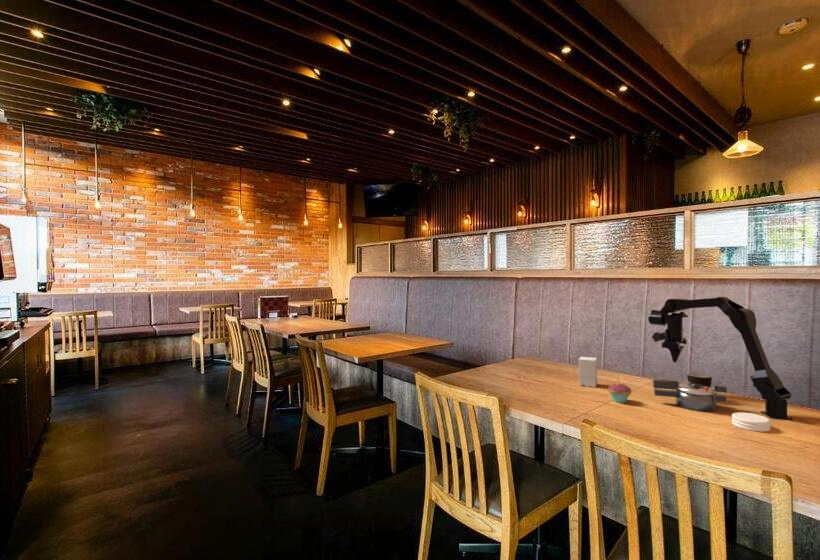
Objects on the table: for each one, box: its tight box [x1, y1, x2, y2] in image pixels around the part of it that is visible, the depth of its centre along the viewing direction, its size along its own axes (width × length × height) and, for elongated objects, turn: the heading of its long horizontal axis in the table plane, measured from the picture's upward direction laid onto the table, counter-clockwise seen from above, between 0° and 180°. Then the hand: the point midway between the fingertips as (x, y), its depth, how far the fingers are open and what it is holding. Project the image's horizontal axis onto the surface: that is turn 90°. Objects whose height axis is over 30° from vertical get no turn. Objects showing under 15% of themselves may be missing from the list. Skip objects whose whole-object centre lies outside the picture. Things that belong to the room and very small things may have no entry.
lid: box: [652, 378, 728, 395], centre depth 159 cm, size 24×14×3 cm, turn 72°
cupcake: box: [608, 373, 632, 404], centre depth 166 cm, size 9×8×12 cm
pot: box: [653, 388, 727, 413], centre depth 159 cm, size 24×13×6 cm, turn 68°
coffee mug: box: [686, 372, 713, 387], centre depth 169 cm, size 12×9×10 cm
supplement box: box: [578, 356, 598, 388], centre depth 191 cm, size 7×7×13 cm
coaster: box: [731, 411, 771, 433], centre depth 137 cm, size 10×10×4 cm
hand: (674, 362), depth 178 cm, fingers closed
